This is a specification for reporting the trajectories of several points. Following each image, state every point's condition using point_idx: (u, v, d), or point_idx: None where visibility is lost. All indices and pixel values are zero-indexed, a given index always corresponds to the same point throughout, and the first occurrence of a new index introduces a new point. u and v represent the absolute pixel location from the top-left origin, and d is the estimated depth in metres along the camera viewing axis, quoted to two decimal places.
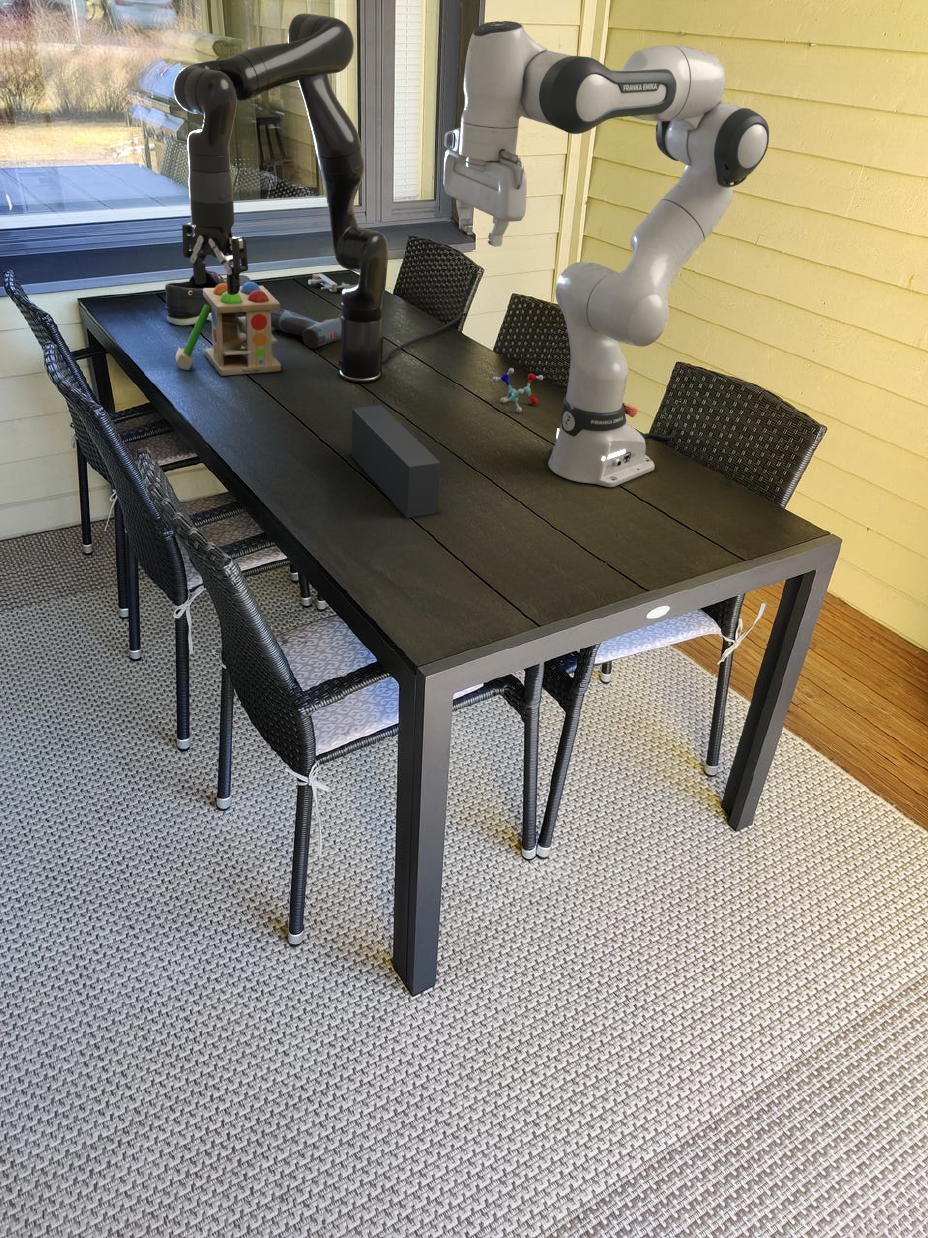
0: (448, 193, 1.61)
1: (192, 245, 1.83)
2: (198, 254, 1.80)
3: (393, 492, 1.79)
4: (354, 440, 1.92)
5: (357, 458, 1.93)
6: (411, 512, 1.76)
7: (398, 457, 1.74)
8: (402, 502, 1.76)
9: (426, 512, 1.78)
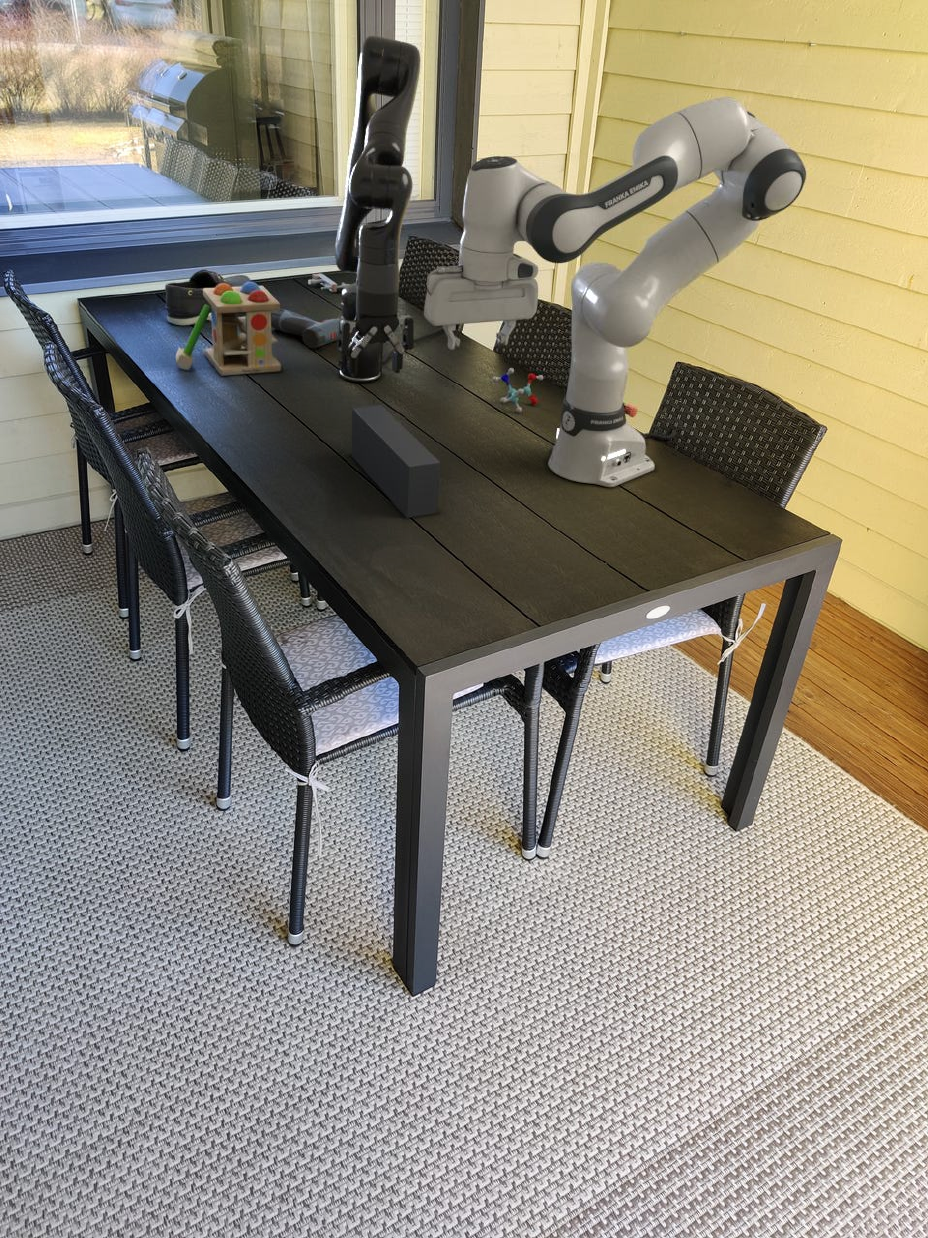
0: None
1: None
2: (387, 339, 1.83)
3: (393, 492, 1.79)
4: (354, 440, 1.92)
5: (357, 458, 1.93)
6: (411, 512, 1.76)
7: (398, 457, 1.74)
8: (402, 502, 1.76)
9: (426, 512, 1.78)
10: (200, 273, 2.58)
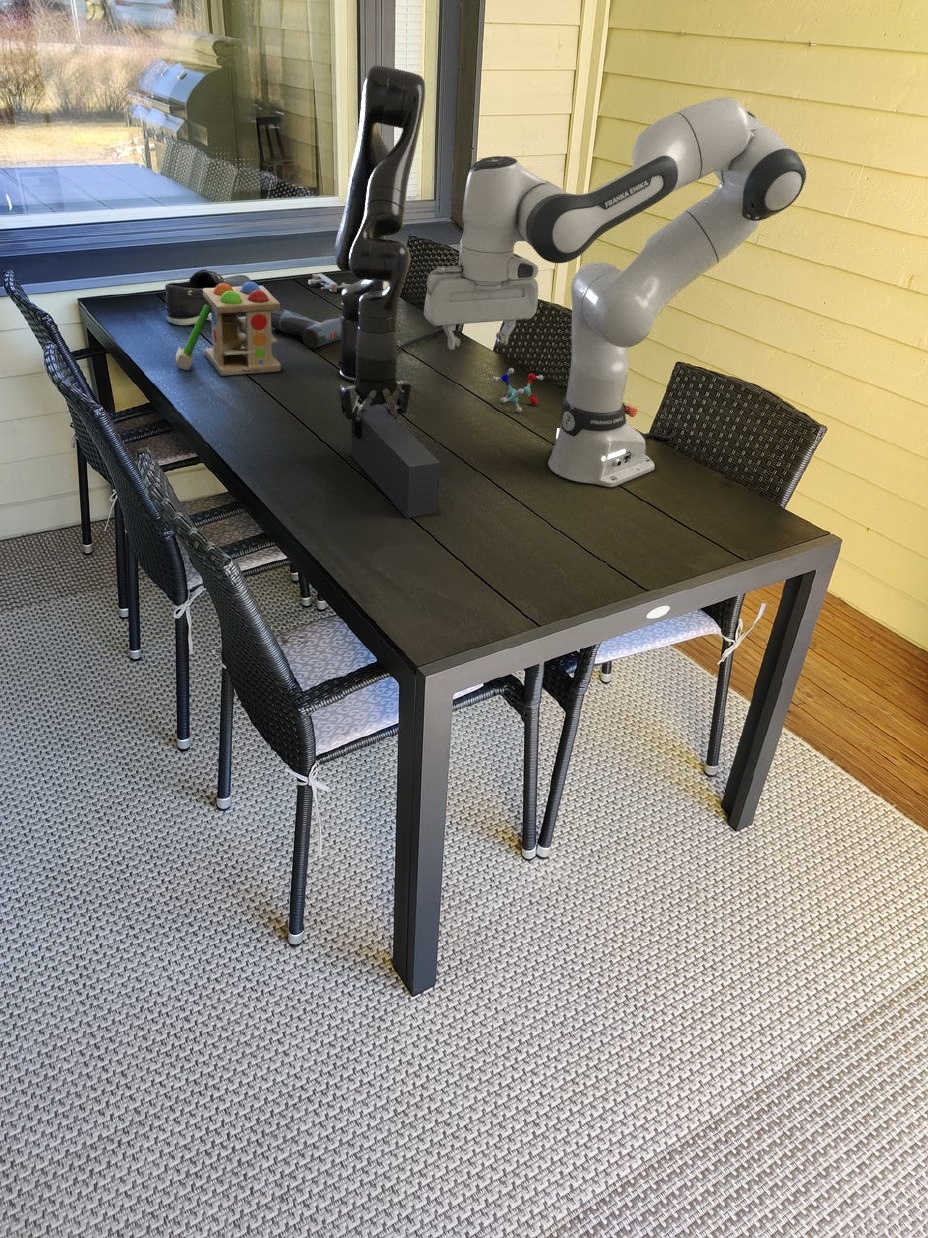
0: None
1: None
2: None
3: (393, 492, 1.79)
4: (354, 440, 1.92)
5: (357, 458, 1.93)
6: (411, 512, 1.76)
7: (398, 457, 1.74)
8: (402, 502, 1.76)
9: (426, 512, 1.78)
10: (200, 273, 2.58)
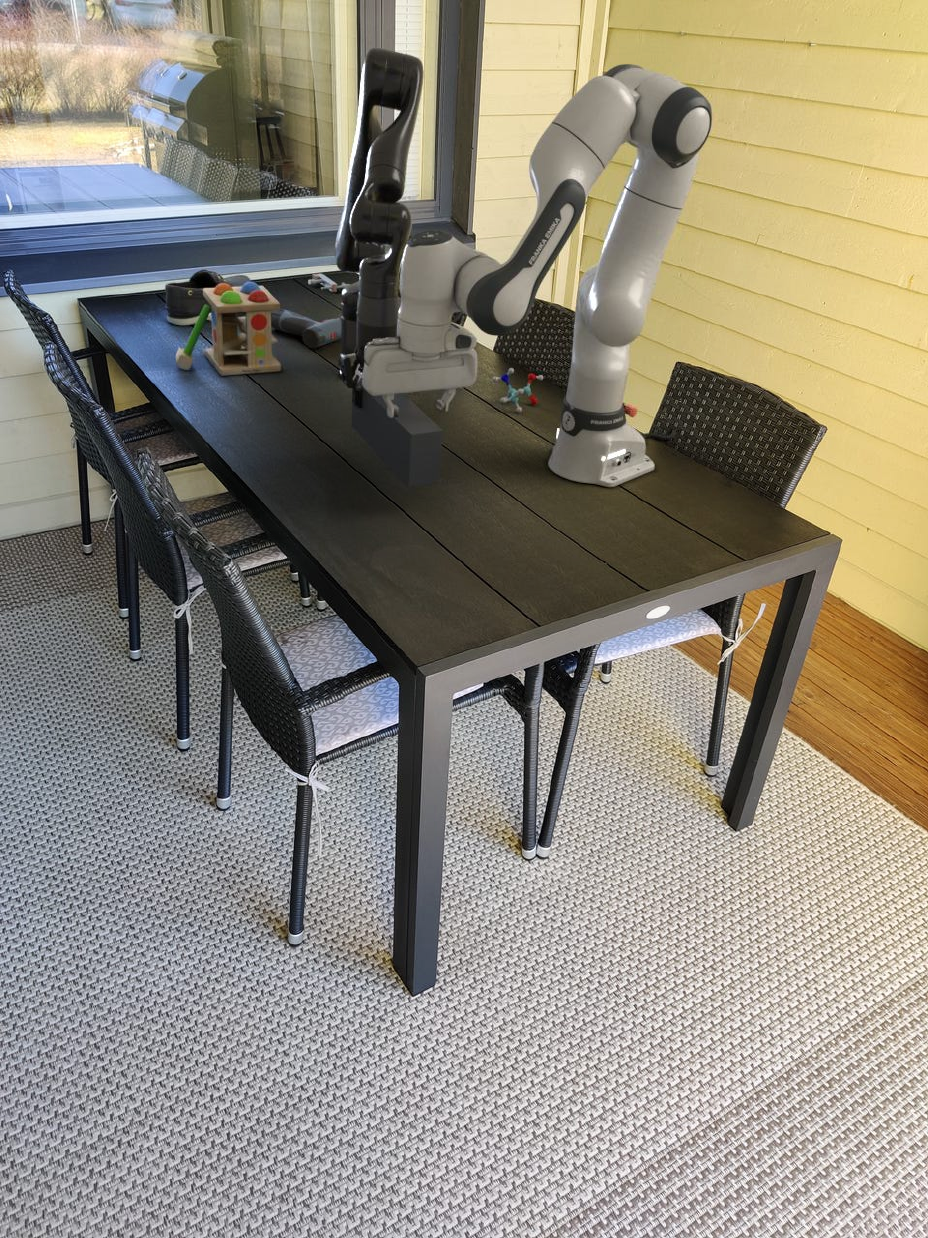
0: None
1: None
2: None
3: (394, 461, 1.76)
4: (354, 410, 1.89)
5: (357, 429, 1.89)
6: (413, 481, 1.73)
7: (400, 425, 1.71)
8: (404, 471, 1.73)
9: (428, 482, 1.74)
10: (200, 273, 2.58)
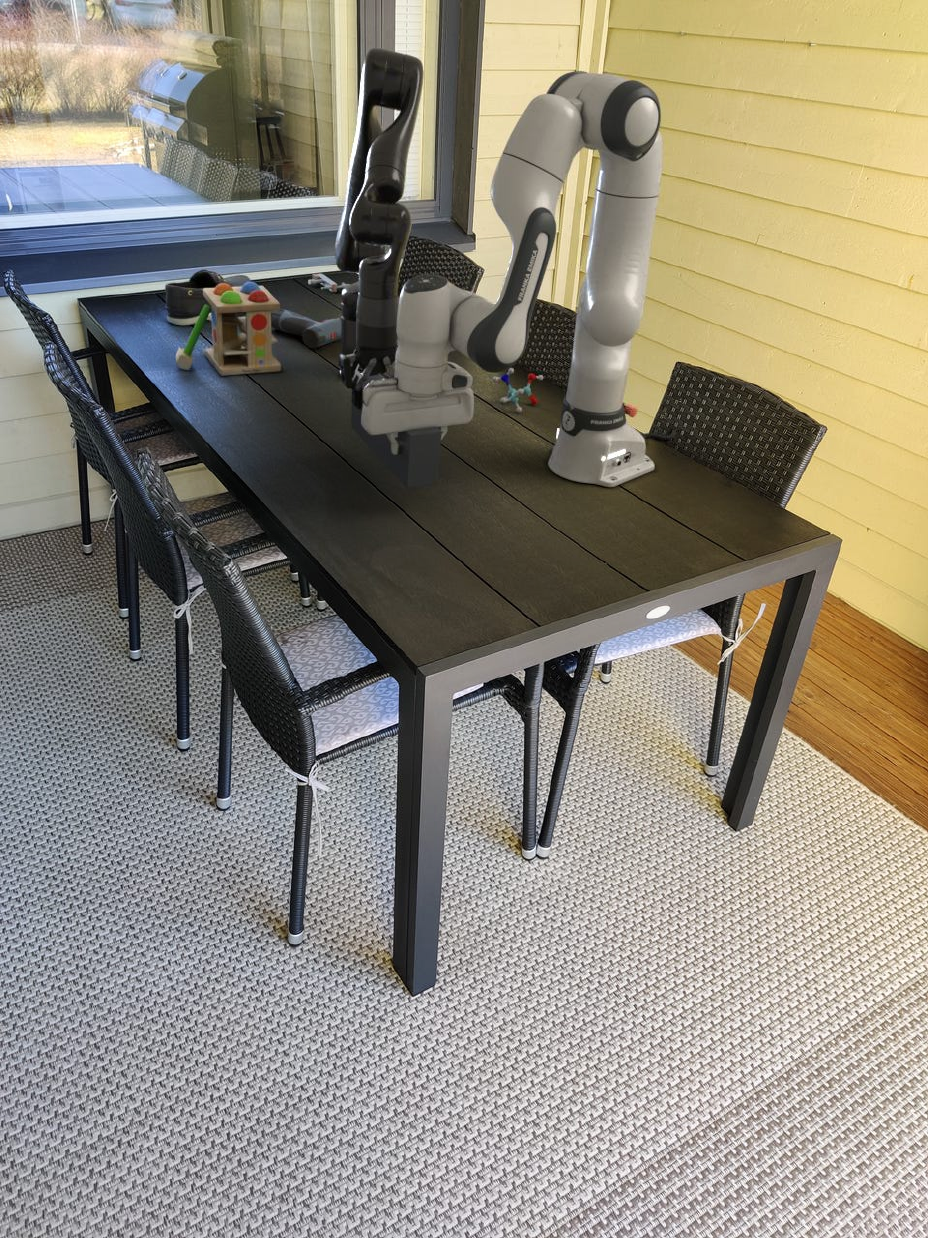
0: None
1: None
2: None
3: (393, 462, 1.76)
4: (354, 411, 1.89)
5: (357, 429, 1.90)
6: (412, 482, 1.73)
7: None
8: (403, 472, 1.73)
9: (427, 482, 1.74)
10: (200, 273, 2.58)
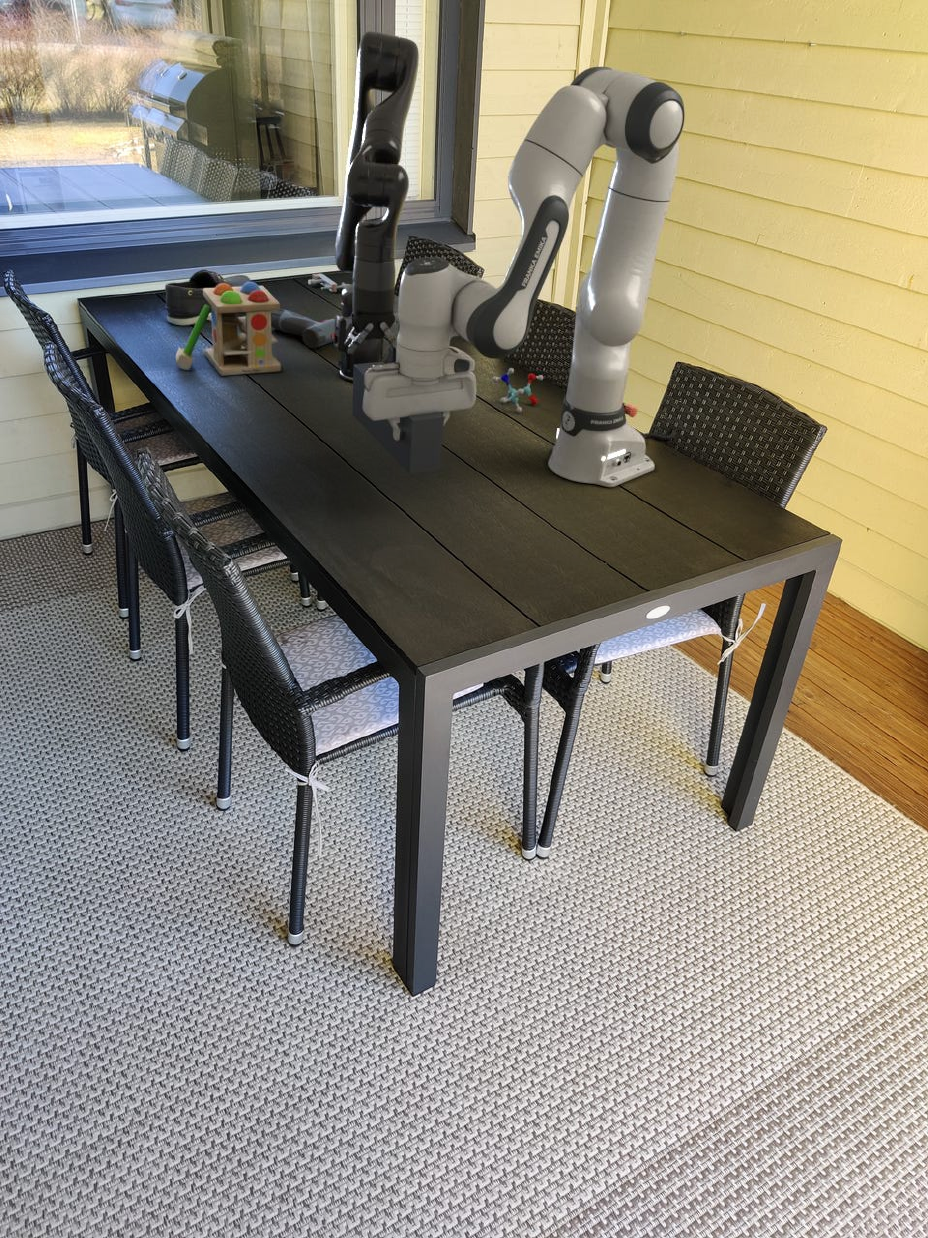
0: None
1: None
2: (383, 335, 1.84)
3: (395, 448, 1.75)
4: (355, 398, 1.88)
5: (358, 417, 1.88)
6: (414, 468, 1.71)
7: None
8: (405, 458, 1.72)
9: (429, 469, 1.73)
10: (200, 273, 2.58)
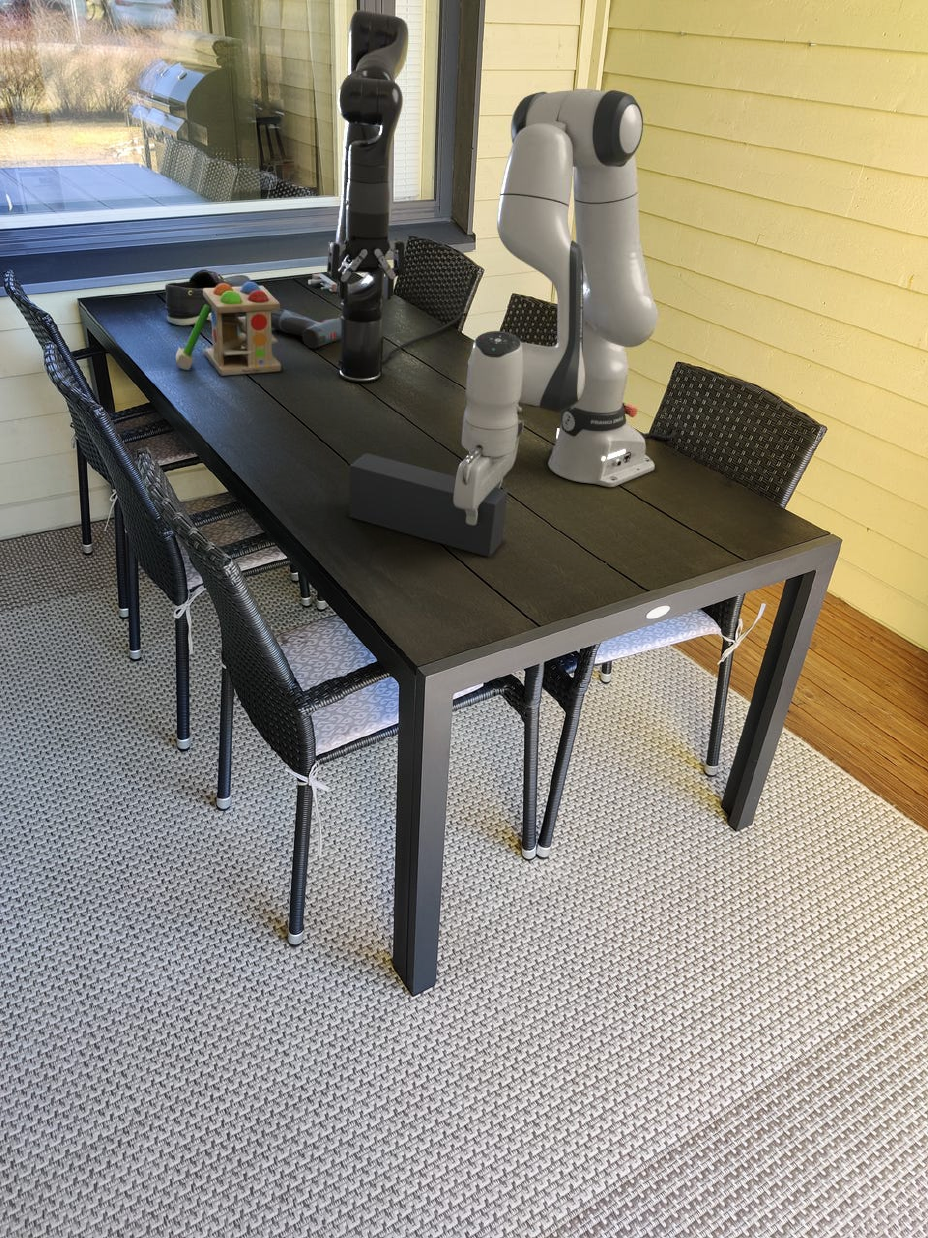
0: None
1: None
2: (378, 265, 1.80)
3: (456, 536, 1.68)
4: (356, 499, 1.72)
5: (365, 517, 1.73)
6: (491, 549, 1.67)
7: None
8: (480, 543, 1.66)
9: (497, 545, 1.70)
10: (200, 273, 2.58)
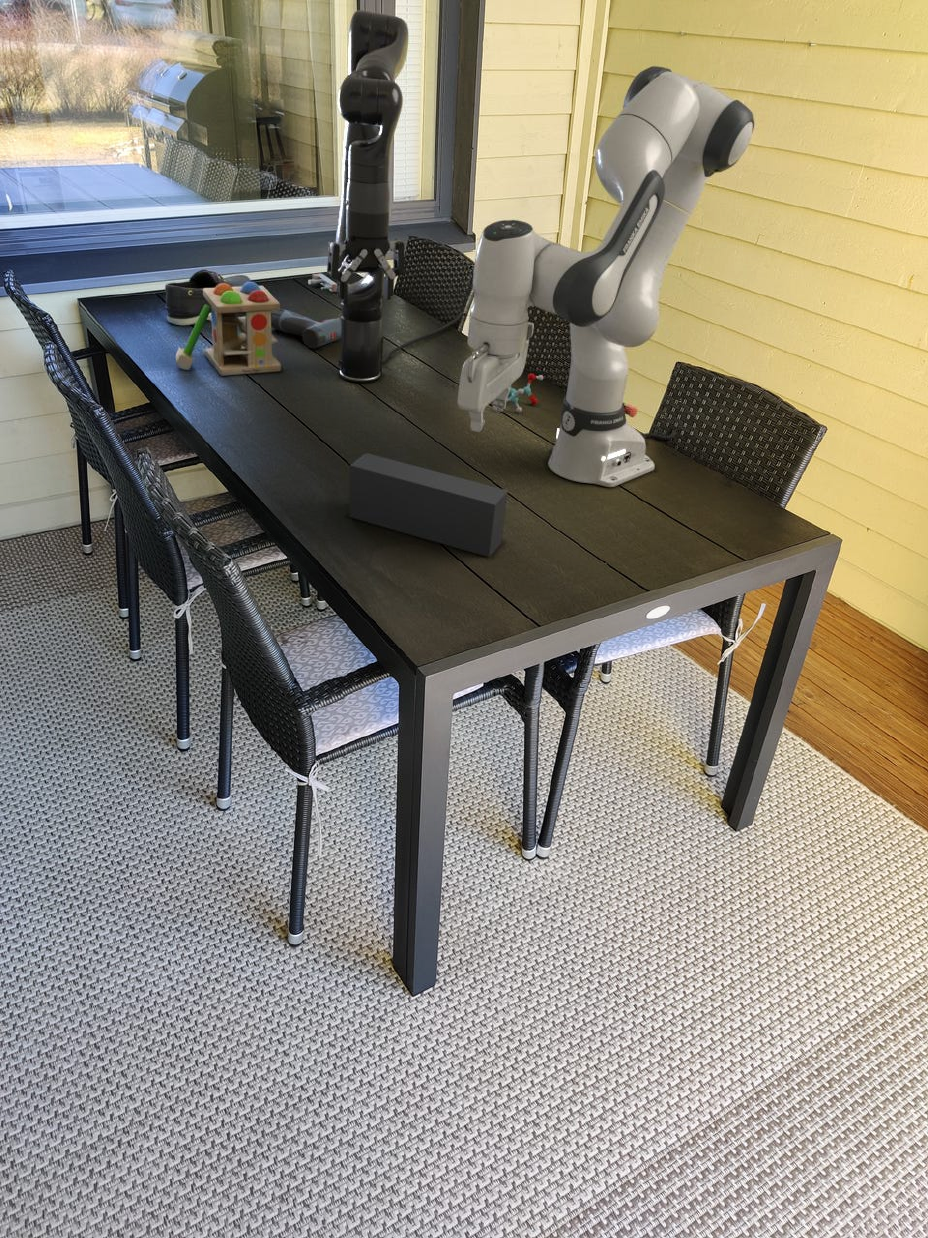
0: None
1: None
2: (378, 265, 1.80)
3: (456, 536, 1.68)
4: (356, 499, 1.72)
5: (365, 517, 1.73)
6: (491, 549, 1.67)
7: (469, 499, 1.63)
8: (480, 543, 1.66)
9: (497, 545, 1.70)
10: (200, 273, 2.58)
